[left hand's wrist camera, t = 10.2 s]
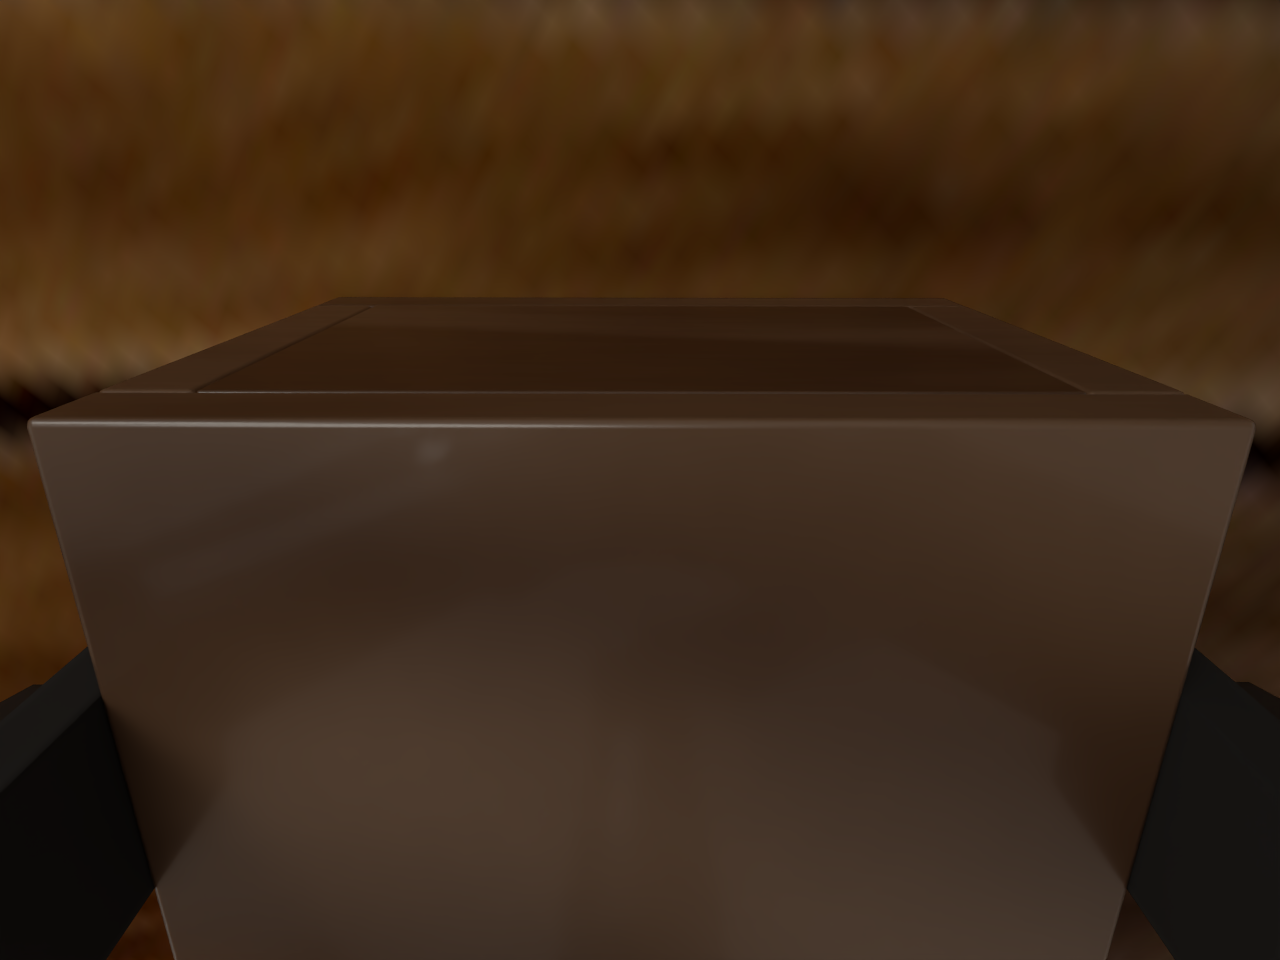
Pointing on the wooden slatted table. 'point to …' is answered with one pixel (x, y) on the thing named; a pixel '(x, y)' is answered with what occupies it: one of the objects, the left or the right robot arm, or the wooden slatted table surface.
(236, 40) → the wooden slatted table surface
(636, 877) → the cabinet
